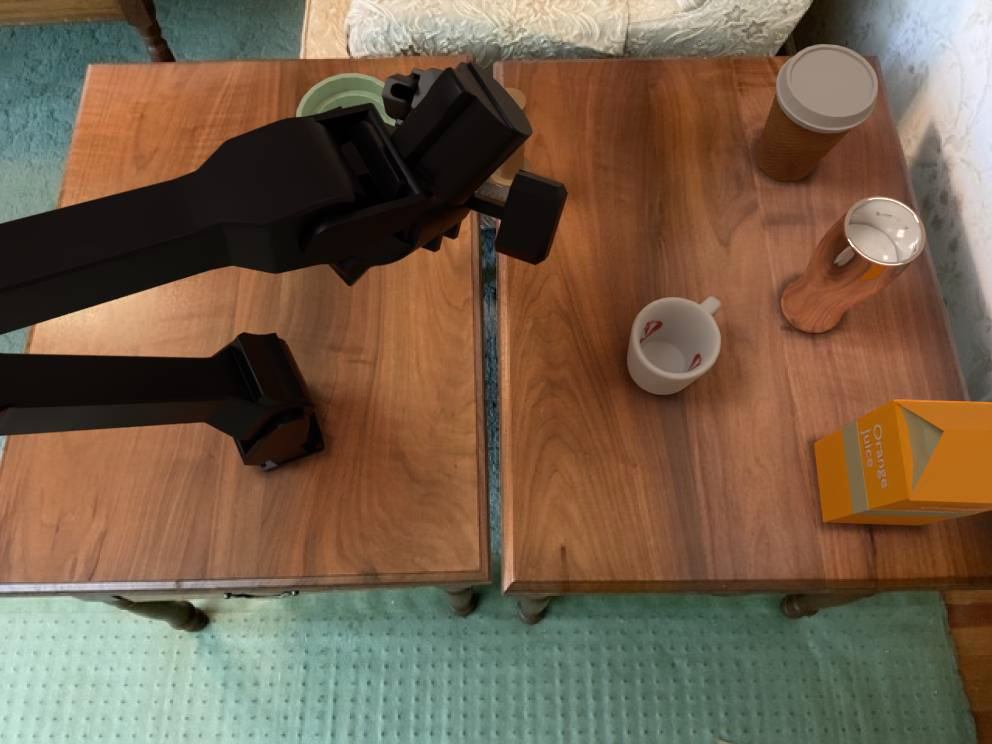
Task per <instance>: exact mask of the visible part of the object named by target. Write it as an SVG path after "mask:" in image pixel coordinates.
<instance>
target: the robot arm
mask: <svg viewBox="0 0 992 744" xmlns="http://www.w3.org/2000/svg"><path fill="white" fill-rule="evenodd" d="M384 83H385V85H384V88H383V92H382V99H383V104H384V109H385V112H386V114H387V115H388V116H389V117H390V118H392V119H395V120H396V121H395V126H393V125H390V124H388V123H386V122H384V120H383V119H382V117H381V115H380V113H379V112H378V110H377V108H376V107H375V105H374V104H373V103H365V104H361V105H356V106H351V107H347V108H342V107H341V106H339V107H337V108H334V109H331V110H328V111H326V112H323V113H318V114H314V115H309V116H304V117H296V116H293V117H292V116H291V117H285V118H282V119H279V120H275V121H272V122H270V123H267V124H265V125H262V126H259V127H257V128H254V129H252V130H251V129H250V130H249V131H247V132H244V133H241V134H238V135H236V136H234V137H230V138H228V139H226V140H224V141H223V142H221V144H220V145H219V146H218V147H217V148H216V149H215V150H214V151H213V152H212V153H211V154H210V155H209V156H208V157H207V158H206V159H205V160H204V162H202V164H200V165H199V167H197V168H196V170H194V171H191V172H188V173H186V174H182V175H180V176H177V177H175V178H172V179H168V180H163V181H160V182H156V183H152V184H148V185H145V186H141V187H137V188H133V189H129V190H125V191H121V192H117V193H114V194H110V195H105V196H102V197H97V198H94V199H90V200H86V201H83V202H79V203H74V204H71V205H67V206H61V207H59V208H54V209H51V210H47V211H44V212H39V213H35V214H31V215H28V216H24V217H20V218H16V219H12V220H7V221H5V222H1V223H0V336H2V335H5V334H9V333H12V332H16V331H19V330H21V329H24V328H28V327H32V326H34V325H39V324H41V323H44V322H47V321H51V320H54V319H57V318H61V317H64V316H67V315H70V314H71V315H72V314H73V313H76V312H80V311H83V310H87V309H90V308H93V307H97V306H99V305H102V304H106V303H109V302H112V301H115V300H119V299H122V298H124V297H129V296H132V295H136V294H139V293H142V292H145V291H148V290H152V289H154V288H158V287H162V286H165V285H168V284H170V283H171V284H172V283H175V282H177V281H181V280H184V279H187V278H191V277H193V276H197V275H200V274H204V273H206V272H210V271H214V270H219V269H225V268H229V267H236V268H242V269H247V270H251V271H255V272H256V271H258V272H260V273H261V272H262V273H267V274H273V275H279V274H284V273H289V272H293V271H297V270H302V269H307V268H311V267H317V266H320V265H324V266H325V265H328V266H329V267H330V268H331V269H332V270H333V271H334V273H335V274H336V275H337V276H338V277H339V278H340V279H341V280H342V281H343V282H344V283H345V285H347V287H350V288H351V287H353V286H354V285H356V284H357V282H358V281H359V280H361V278H362V277H363V276H364V275H365V274H367V272H368V271H369V270H370V269H371V268H372V267H382V266H388V265H393V264H394V263H397V262H399V261H401V260H403V259H405V258H407V257H408V256H410V255H411V254H413V253H415V252H416V251H418V250H419V249H424V250H427V251H430V252H432V253H437V252H438V251H440V250H441V246H442V242H443V239H444V237H445V238H448V239H451V240H453V241H454V240H456V239H457V238H459V236H460V232H461V227H462V222H463V221H464V220H465V219H466V218H467V217H468V216H469V214H470V212H471V211H474V212H476V213H478V214H482V215H485V216H488V217H491V218H494V219H497V220H499V221H500V223H499V226H498V230H497V234H496V238H495V241H494V252H496V253H498V254H501V255H504V256H507V257H509V258H513V259H516V260H519V261H521V262H524V263H527V264H530V265H533V266H537V265H539V264H540V263H542V262H545V261H546V260H547V258H548V257H549V256H550V253H551V251H552V248H553V247H552V246H553V243H554V240H555V238H556V234H557V231H558V227H559V224H560V221H561V218H562V214H563V211H564V208H565V205H566V202H567V199H568V195H569V191H568V190H567V187H566V186H565V184H564V182H560V181H557V180H554V179H552V178H549V177H546V176H541V175H539V174H536V173H533V172H531V171H530V172H527V171H524V170H521V169H519V172H518V173H516V175H515V177H514V179H513V181H512V184H511V186H510V188H508V187H505V186H502V185H499V184H496V183H493V182H490V181H489V177H490V176H491V175H492V174H493V173H494V172H495V171H496V170H497V169H498V168H499V167H500V166H501V165H502V164H503V163H504V162H505V161H506V160H507V159H508V158H509V157H510V156H511V155H512V154H513V153H514V152H515V151H516V150H517V149H518V148H519V147H520V146H521V145H522V144H523V143H524V142H525V143H526V141H527V140H528V139H530V137H531V136H532V135H533V134H534V133H533V127H532V125H531V123H530V121H529V119H528V118H527V114H526V115H525V114H524V112H523V111H522V110H521V108H520V107H519V106H518V104H517V103H516V102H515V100H514V99H513V98H512V97H511V96H510V95H509V93H508V92H507V91H506V90H505V89H504V87H503V85H501V83H500V82H499V81H498V80H497V79H495V78H494V77H493V76H492V75H491V74H490V73H489V72H487V71H486V70H485V69H484V68H482V67H481V66H480V65H479V64H477V63H476V62H474V61H472V60H470V61H469V62H465V61H461V62H459V63H458V64H457V65H456V66H455V67H454V68H453V67H452V66H448V67H445V69H444V70H443V69H440V68H437V67H430V68H427V69H426V70H425V69H424V70H423V69H421V68H417V67H413V68H412V69H411V71H410V73H409V74H407V75H404V74H401V73H395V74H392V75H389V76H388V77H386V79H385V82H384ZM477 191H478V192H477ZM482 193H483V194H482ZM487 194H488V196H487ZM492 194H493V196H494V198H496V197H497V195H498V199H499V200H497V199H494V198H492V197H491V195H492ZM502 197H503V201H506V202H503V201H500V199H501V198H502ZM506 199H507V200H506ZM316 408H317V404H316V401H315V398H314V396H313V394H312V393H311V390H310V388H309V386H308V384H307V382H306V380H305V378H304V376H303V373H302V371H301V369H300V366H299V365H298V363H297V361H296V358H295V356H294V354H293V353H292V350H291V349H290V347H289V344H288V343H287V341H286V340H285V339H283V338H280V337H279V336H278V334H277V332H270V333H264V334H263V333H260V334H257V333H252V332H245V331H242V332H241V333H239V334H237V335H236V336H235V338H234V339H233V340H231V341H230V342H229V343H228V344H226V345H225V346H223V347H222V348H221V349H219V350H218V351H216V352H215V353H214V354H212V355H211V356H206V357H203V356H202V357H200V356H198V357H197V356H196V357H194V356H157V355H155V356H153V355H152V356H151V355H115V354H114V355H110V354H109V355H107V354H69V353H68V354H67V353H63V354H62V353H23V352H22V353H17V352H0V437H5V436H6V437H7V436H20V435H21V436H22V435H37V434H38V435H39V434H53V433H66V432H67V433H68V432H82V431H96V430H112V429H125V428H127V429H128V428H139V427H156V426H171V425H185V424H186V425H187V424H201V423H202V424H207V425H208V426H210V427H212V428H214V429H216V430H217V431H220V432H222V433H223V434H225V435H227V436H229V437H231V438H232V439H233V442H234V444H235V446H236V449H237V451H238V453H239V456H240V458H241V461H242V463H243V465H244V466H250V467H251V466H253V467H257V468H258V470H260V471H261V472H268V471H270V470H273V469H276V468H278V467H279V468H280V467H283V466H285V465H287V464H290V463H294V462H296V461H298V460H301V459H304V458H308V457H309V456H313V455H316V454H318V453H321V452H323V451H324V450H325V448H326V443H325V440H324V437H323V432H322V430H321V426H320V423H319V420H318V416H317V413H316ZM319 445H321V447H319ZM318 447H319V448H318ZM263 465H265V466H264V467H263Z"/></svg>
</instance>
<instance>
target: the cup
mask: <svg viewBox="0 0 992 744" xmlns="http://www.w3.org/2000/svg"><path fill="white" fill-rule="evenodd" d="M721 308H722V301H720V300H719V298H716V297H715V296H713V295H711V296H708V297H707V298H706V299H704V300H703V301H702V302H701V303H698V302H696V301H693V300H691V299H687V298H684V297H677V296H669V297H663V298H659V299H656V300H654V301H652V302H649V303H648V304H646V305H645V307H643V308H642V309H641V310H640V311H639V312H638V314H637V315H636V317H635V318H634V321H633V323H632V326H631V330H630V335H629V336H630V337H629V341H628V342H629V343H628V347H627V353H626V354H627V355H626V365H627V369H628V373H629V375H630V377H631V379H632V380H633V381H634V383H635V384H636V385H637V387H639V388H641V389H642V390H643V391H646V392H648V393H649V394H653V395H657V396H668V395H672V394H675V393H678V392H680V391H682V390H684V389H685V388H687V387H688V386H690V385H691V384H692V383H694V382H695V381H696V380H698V379H699V378H700V377H701V376H703V375H704V374H706V373H707V372H708V371H709V370H710V369H711V368H712V367H713V366H714V364H715V363H716V362H717V360H718V357H719V355H720V352H721V348H722V347H721V346H722V336H721V332H720V328H719V326H718V323H717V321H716V319H715V318H714V317H715V316H716V314H718V312H719V311H720V309H721Z"/></svg>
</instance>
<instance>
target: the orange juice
mask: <svg viewBox="0 0 992 744" xmlns="http://www.w3.org/2000/svg"><path fill="white" fill-rule="evenodd" d="M813 447H814V456H815V464H816V472H817V473H816V474H817V481H818V490H819V499H820V507H821V516H822V522H823V523H831V524H834V523H835V524H859V525H860V524H863V525H889V526H893V525H894V526H897V525H898V526H917V527H919V526H923V525H927V524H932V523H937V522H941V521H947V520H952V519H956V518H957V519H958V518H964V517H967V516H968V517H969V516H973V515H978V514H980V513H985V512H989V511H992V401H967V400H966V401H965V400H964V401H962V400H960V401H959V400H932V399H898V398H897V399H895V398H894V399H893V398H892V399H891V400H889V401H888V402H886V403H884V404H882V405H881V406H879V407H877V408H875V409H873V410H871V411H870V412H867V413H866V414H864V415H863V416H860V417H859V418H857V419H854V420H852V421H850V422H848V423H846V424H844V425H843V426H842V427H841V428H839V429H837V430H835V431H833V432H832V433H830V434H828V435H826V436H824V437H823V438H821V439H819V440H817V441H816V442H814V443H813Z"/></svg>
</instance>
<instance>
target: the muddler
mask: <svg viewBox="0 0 992 744" xmlns="http://www.w3.org/2000/svg"><path fill="white" fill-rule="evenodd" d="M503 88H504V87H503ZM504 89H505V90H506V91H507V92H508V93H509V95H510V96H511V97H512V98H513V99H514V100H515V102H516V103H517V104H518V106H519V107H520V108H521V110H522V111H523V112H524V114H525V115H526V116H527V114H526V113H527V98H526V95H525V93H524V92H522V91H521V90H520V89H519V88H518V89H517V88H516V87H505V88H504ZM525 143H526V141H525V142H524V143H523V144H522V145H521V146H520V147H519V148H518V149H517V150H516V151H515V152H514V153H513V154H512V155H511V156H510V157H509V158H508V159H507V160H506V161H505V162H504V163H503V164H502V165H501V166H500V167H499V168H498V169H497V170H496V171H495V172H494V173H493V174H492V175H491V176H490V177H489V178H488V181H490V182H493V183H496V184H499V185H502V186H505V187H508V188H510V186H511V184H512V181H513V179H514V177H515V175H516V173H518V172H519V169H521V170H524V171H527V172H530V173H531V163H530V160H529V159H528V157H527V156H526V154H525V146H526V145H525ZM490 197H491V198H494V196H493V194H492V195H491V196H490ZM494 199H497V200H499V199H498V195H497V197H496V198H494ZM506 200H507V199H506ZM500 201H503V197H502V198H501V199H500ZM503 202H506V201H503Z"/></svg>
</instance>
